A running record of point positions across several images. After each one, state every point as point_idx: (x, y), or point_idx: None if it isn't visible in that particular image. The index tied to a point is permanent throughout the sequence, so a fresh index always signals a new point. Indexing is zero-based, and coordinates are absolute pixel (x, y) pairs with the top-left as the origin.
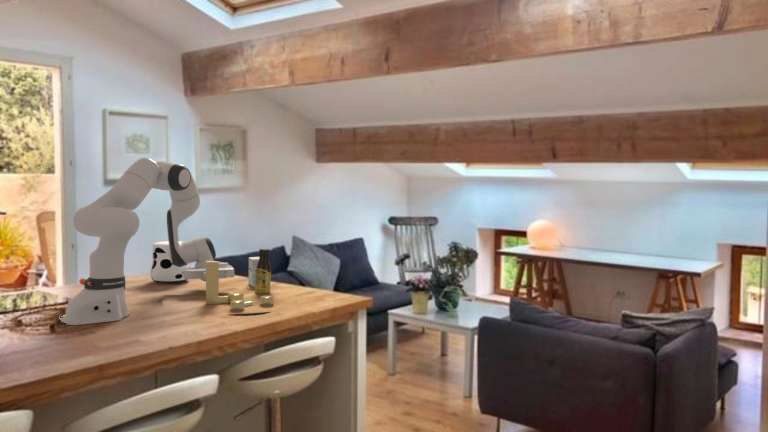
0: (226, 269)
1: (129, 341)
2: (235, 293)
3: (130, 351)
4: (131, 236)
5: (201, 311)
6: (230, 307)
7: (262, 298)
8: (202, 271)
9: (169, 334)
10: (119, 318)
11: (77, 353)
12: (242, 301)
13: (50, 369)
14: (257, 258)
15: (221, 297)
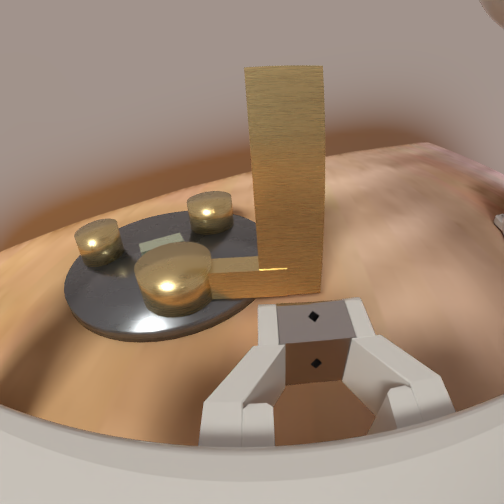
0: (6, 410)
1: (401, 166)
2: (163, 274)
3: (380, 153)
4: (494, 17)
5: (329, 260)
6: (232, 212)
7: (116, 221)
8: (470, 412)
9: (357, 171)
10: (495, 217)
11: (431, 158)
12: (192, 199)
13: (423, 147)
14: None
15: (244, 258)
